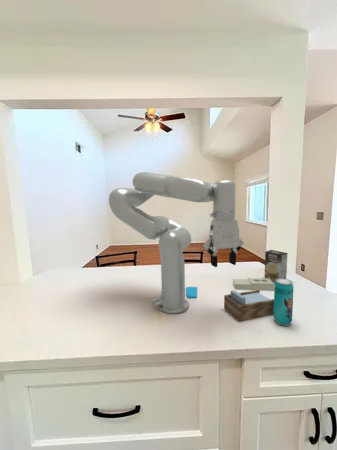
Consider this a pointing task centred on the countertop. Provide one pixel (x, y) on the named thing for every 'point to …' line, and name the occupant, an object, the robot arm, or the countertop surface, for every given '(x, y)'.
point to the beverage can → (283, 302)
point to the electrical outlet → (253, 284)
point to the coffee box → (275, 265)
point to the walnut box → (248, 308)
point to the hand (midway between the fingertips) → (223, 264)
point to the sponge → (191, 292)
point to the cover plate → (247, 298)
